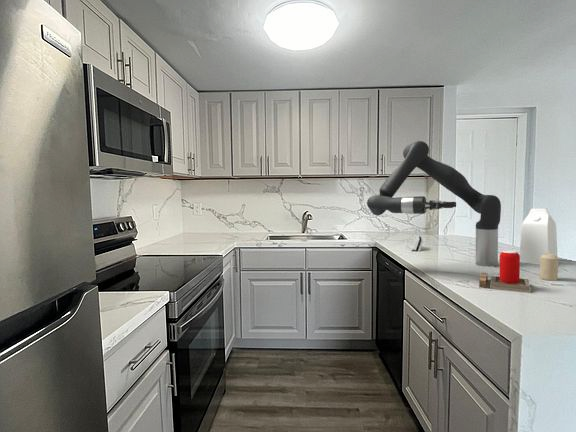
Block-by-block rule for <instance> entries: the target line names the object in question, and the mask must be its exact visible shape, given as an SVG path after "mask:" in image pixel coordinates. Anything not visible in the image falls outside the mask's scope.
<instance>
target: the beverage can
mask: <svg viewBox="0 0 576 432" xmlns="http://www.w3.org/2000/svg"><path fill="white" fill-rule="evenodd" d="M519 255H520V253H518V251H516V250H502V251H501V252H500V253H499V273H498V274H499V275H498V276H499V280H500V282H502V283H510V284H518V283H519V282H520V278H521V277H520V276H521V275H520V273H521V272H520V271H521V267H520V265H521V262H520V256H519Z"/></svg>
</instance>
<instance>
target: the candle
mask: <svg viewBox="0 0 576 432" xmlns="http://www.w3.org/2000/svg"><path fill="white" fill-rule="evenodd" d="M557 257H558V256H557ZM557 257H556V256H555V255H554V254H553V255H552V254H551V253H547V254H545V255H542V256H541V257H540V265H539V279H540V280H545V281H558V273H559V270H558V269H559V267H558V265H559V258H557Z"/></svg>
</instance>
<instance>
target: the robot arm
mask: <svg viewBox="0 0 576 432" xmlns="http://www.w3.org/2000/svg"><path fill="white" fill-rule="evenodd" d="M429 154H430V146H429V145H428V143H426V142H425V141H423V140H417V141H414V142H412V143H410V144H408V145H406V146H405V147H404V149H403V151H402V155H403V158H404V159H403V160H402V162H401V163H400V164H399V166H398V167H397V168H395V170H394V171H392V172H391V174H390V175H389V176H388V177H387V178H386V179H385V181H384V182H383V183H382V184H381V186H380V188H379V194H375V195H372V196H370V197H368V199H367V201H366V205H367V207H368V210H369V211H370V212H371V213H372V214H373V215H374V216H382V215H383V214H384V213H386V211H388V212H390V213H391V214H408V215H415V214H416V215H417V214H418V215H420V214H421V215H425V214H426V213H427V209H428V210H429V211H433V210H441V209H453V208H456V207H457V202H456V201H446V200H443V201H442V200H434V199H432V200H429V201H427V198H426V196H421V195H420V196H404V197H402V196H401V197H400V196H399V197H394V196H395V194H396V193H397V191H398V190H399V189H400V188H401V186H403V184H404V182H405V181H406V180H407V178H408V177H409V176H410V175H411V173H412V172H413V171H414V170H415V169H416V168H418V170H419V169H420V170H421V171H422V172H424V173H425V174H427V175H428V176H429V177H430V178H432V179H433V180H435V182H437V183H439V184H440V185H441V186H442V187H444V188H445V189H446V190H448V191H450V192H451V193H452V194H454V195H455V196H456V197H457V198H458V197H459V199H461V200H462V201H463V202H464V203H466V204H467V205H468V206H469V207H470V208H471V209H472V210H473V211H474V212H476V213H477V214H479V215H480V218H479V220H478V221H477V222H476V223H475V265H477V266H482V267H496V266H498V265H499V264H498V263H499V225H500V222H501V216H502V215H501V214H502V213H501V211H502V203H501V200H500V198H499V197H497V196H496V195H494V194H483V193H481V192H479V191H478V190H476V189H475V188H473V187H472V186H471V184H470V183H469V181H468V180H467V178H466V177H465V176H464V175H463V174H462V173H461V172H459V171H458V170H457V169H455V168H454V167H453V166H450V165H449V164H446V163H443V162H440V161H437V160H435V159H433V158H432V157H430V156H429Z"/></svg>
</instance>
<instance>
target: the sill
mask: <svg viewBox="0 0 576 432" xmlns="http://www.w3.org/2000/svg"><path fill="white" fill-rule="evenodd" d="M487 282H488V273H487V272H481V274H480V277H479V281H478V287H479V289H480V288H482V289H486V287H487Z"/></svg>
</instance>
